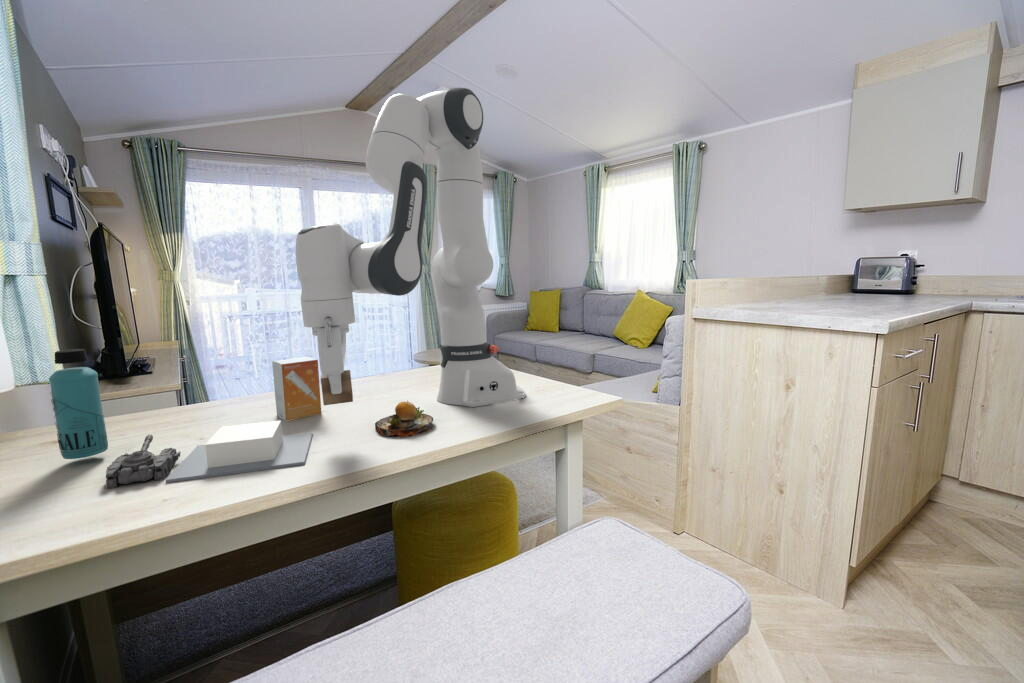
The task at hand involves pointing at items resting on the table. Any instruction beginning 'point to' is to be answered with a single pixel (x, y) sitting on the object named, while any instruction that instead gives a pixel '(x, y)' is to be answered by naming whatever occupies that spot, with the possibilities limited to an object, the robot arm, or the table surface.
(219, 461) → the white plinth
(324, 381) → the walnut block
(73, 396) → the beverage bottle
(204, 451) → the plain slate board
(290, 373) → the small box
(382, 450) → the table surface
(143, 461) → the tank toy
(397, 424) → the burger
